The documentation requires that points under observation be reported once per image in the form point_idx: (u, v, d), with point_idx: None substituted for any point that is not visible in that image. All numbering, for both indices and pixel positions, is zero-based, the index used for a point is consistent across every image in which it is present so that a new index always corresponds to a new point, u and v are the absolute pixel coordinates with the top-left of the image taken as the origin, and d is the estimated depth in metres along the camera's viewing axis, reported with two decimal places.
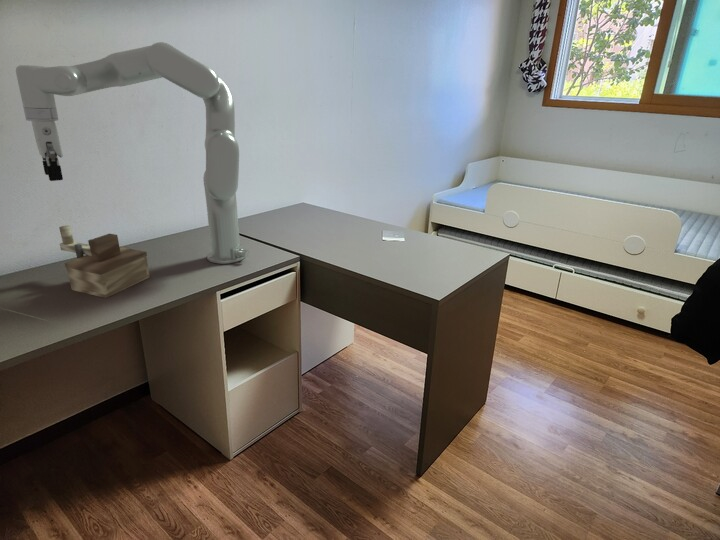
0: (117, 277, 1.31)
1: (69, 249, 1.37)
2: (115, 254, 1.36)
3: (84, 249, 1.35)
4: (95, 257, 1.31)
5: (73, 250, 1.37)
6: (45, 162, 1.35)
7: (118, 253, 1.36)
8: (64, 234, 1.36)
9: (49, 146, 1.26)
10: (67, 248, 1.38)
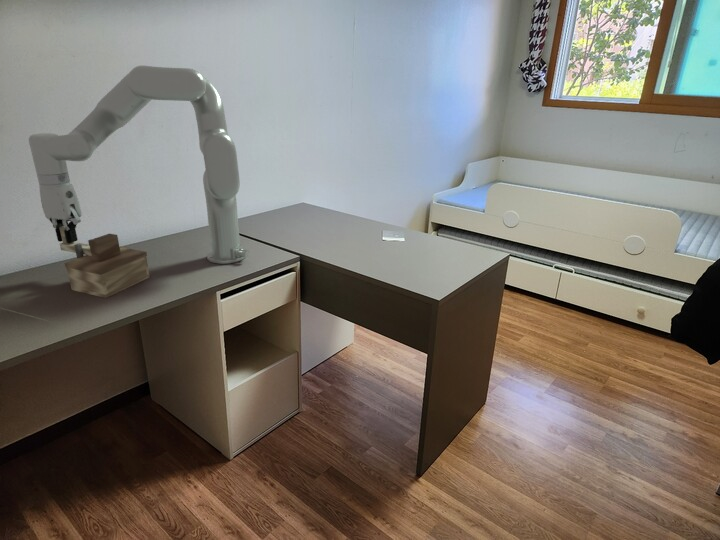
0: (117, 277, 1.31)
1: (69, 249, 1.37)
2: (115, 254, 1.36)
3: (84, 249, 1.35)
4: (95, 257, 1.31)
5: (73, 250, 1.37)
6: (59, 229, 1.37)
7: (118, 253, 1.36)
8: (64, 234, 1.36)
9: (74, 213, 1.33)
10: (67, 248, 1.38)
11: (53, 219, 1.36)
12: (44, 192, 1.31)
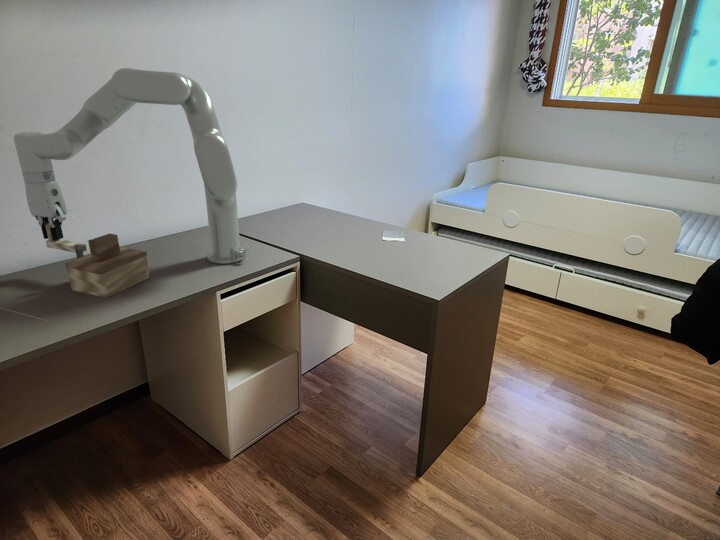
0: (117, 277, 1.31)
1: (55, 246, 1.39)
2: (115, 254, 1.36)
3: (69, 246, 1.37)
4: (95, 257, 1.31)
5: (59, 247, 1.39)
6: (44, 227, 1.39)
7: (118, 253, 1.36)
8: None
9: (59, 211, 1.35)
10: (53, 245, 1.40)
11: (39, 217, 1.37)
12: (29, 190, 1.33)
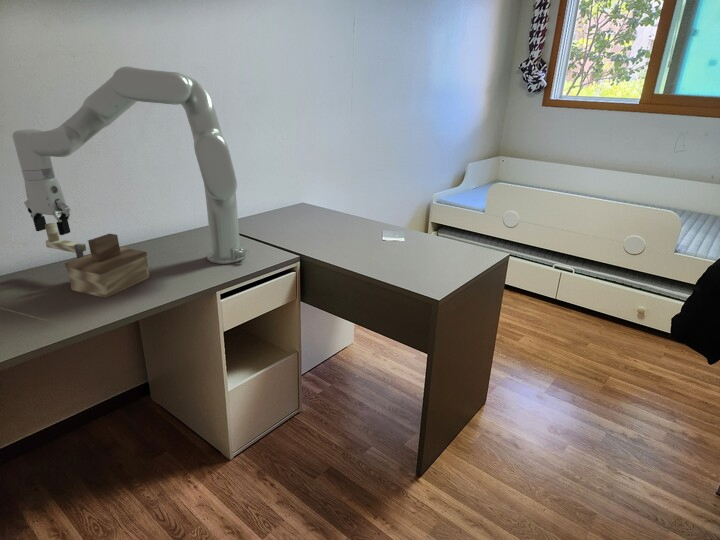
0: (117, 277, 1.31)
1: (55, 246, 1.39)
2: (115, 254, 1.36)
3: (69, 246, 1.37)
4: (95, 257, 1.31)
5: (58, 247, 1.39)
6: (36, 219, 1.39)
7: (118, 253, 1.36)
8: (50, 231, 1.38)
9: (60, 203, 1.34)
10: (53, 245, 1.40)
11: (30, 209, 1.38)
12: (29, 187, 1.33)
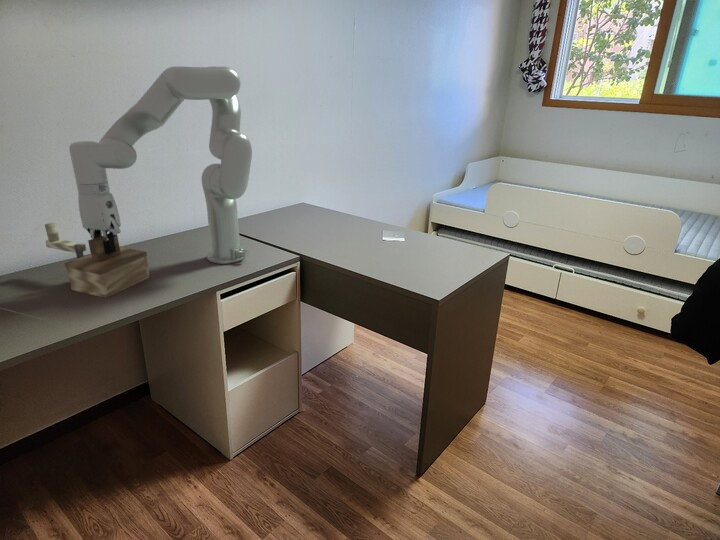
0: (117, 277, 1.31)
1: (55, 246, 1.39)
2: (115, 254, 1.36)
3: (69, 246, 1.37)
4: (95, 257, 1.31)
5: (58, 247, 1.39)
6: None
7: (118, 253, 1.36)
8: (50, 231, 1.38)
9: (114, 223, 1.29)
10: (53, 245, 1.40)
11: (91, 229, 1.31)
12: (83, 202, 1.27)
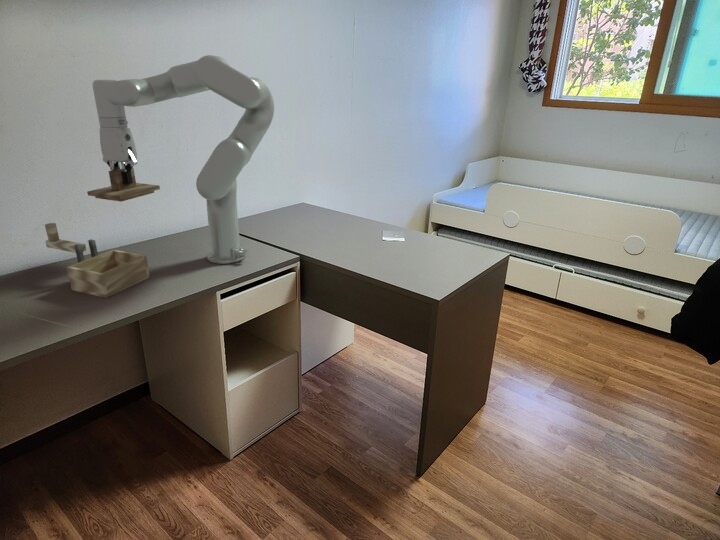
0: (117, 277, 1.31)
1: (55, 246, 1.39)
2: (131, 185, 1.51)
3: (69, 246, 1.37)
4: (114, 187, 1.46)
5: (58, 247, 1.39)
6: None
7: (134, 185, 1.52)
8: (50, 231, 1.38)
9: (131, 155, 1.44)
10: (53, 245, 1.40)
11: (111, 162, 1.46)
12: (104, 135, 1.42)
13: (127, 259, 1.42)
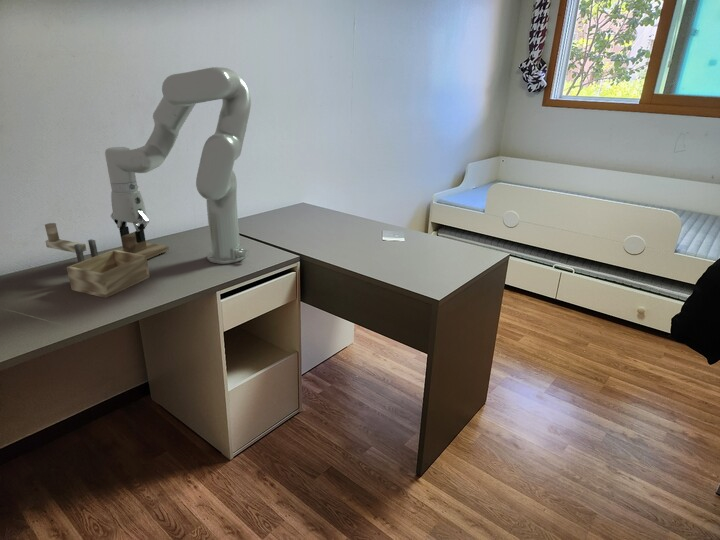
0: (117, 277, 1.31)
1: (55, 246, 1.39)
2: (142, 248, 1.59)
3: (69, 246, 1.37)
4: (126, 251, 1.55)
5: (58, 247, 1.39)
6: (122, 229, 1.55)
7: (145, 247, 1.60)
8: (50, 231, 1.38)
9: (142, 215, 1.51)
10: (53, 245, 1.40)
11: (118, 220, 1.54)
12: (116, 198, 1.50)
13: (127, 259, 1.42)
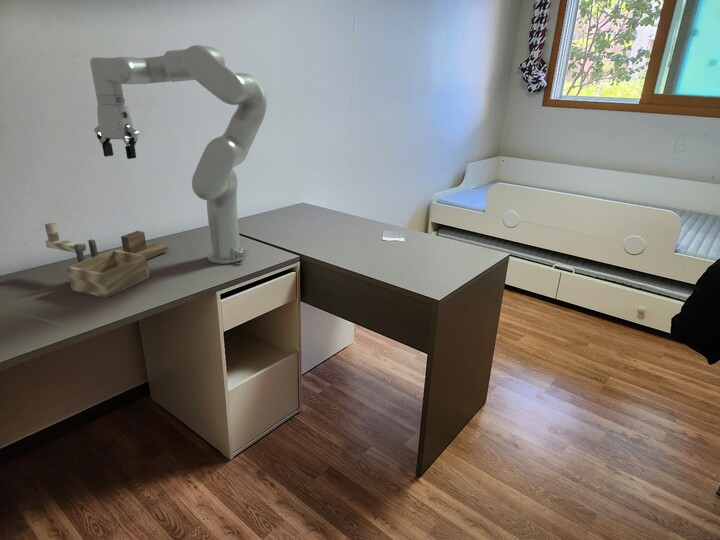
0: (117, 277, 1.31)
1: (55, 246, 1.39)
2: (142, 248, 1.59)
3: (69, 246, 1.37)
4: (126, 251, 1.55)
5: (58, 247, 1.39)
6: (105, 145, 1.51)
7: (145, 247, 1.60)
8: (50, 231, 1.38)
9: (130, 128, 1.45)
10: (53, 245, 1.40)
11: (100, 135, 1.49)
12: (102, 112, 1.45)
13: (127, 259, 1.42)
